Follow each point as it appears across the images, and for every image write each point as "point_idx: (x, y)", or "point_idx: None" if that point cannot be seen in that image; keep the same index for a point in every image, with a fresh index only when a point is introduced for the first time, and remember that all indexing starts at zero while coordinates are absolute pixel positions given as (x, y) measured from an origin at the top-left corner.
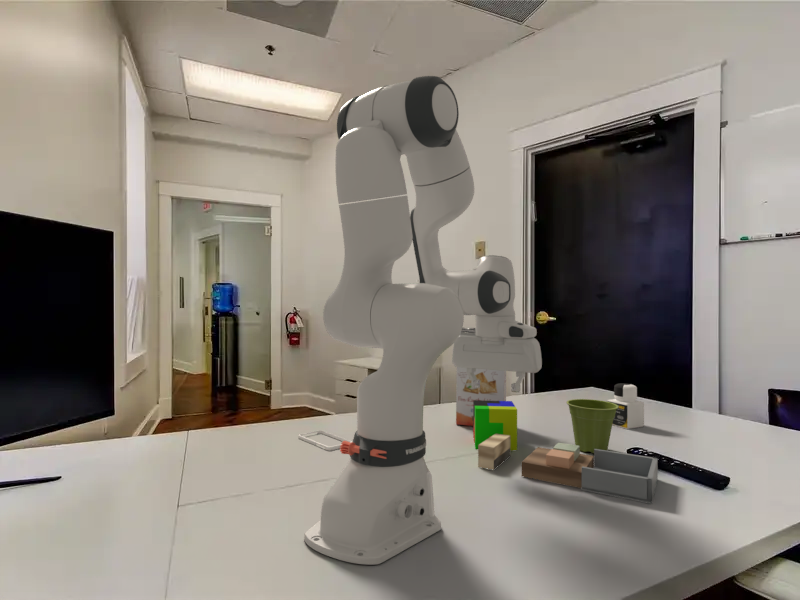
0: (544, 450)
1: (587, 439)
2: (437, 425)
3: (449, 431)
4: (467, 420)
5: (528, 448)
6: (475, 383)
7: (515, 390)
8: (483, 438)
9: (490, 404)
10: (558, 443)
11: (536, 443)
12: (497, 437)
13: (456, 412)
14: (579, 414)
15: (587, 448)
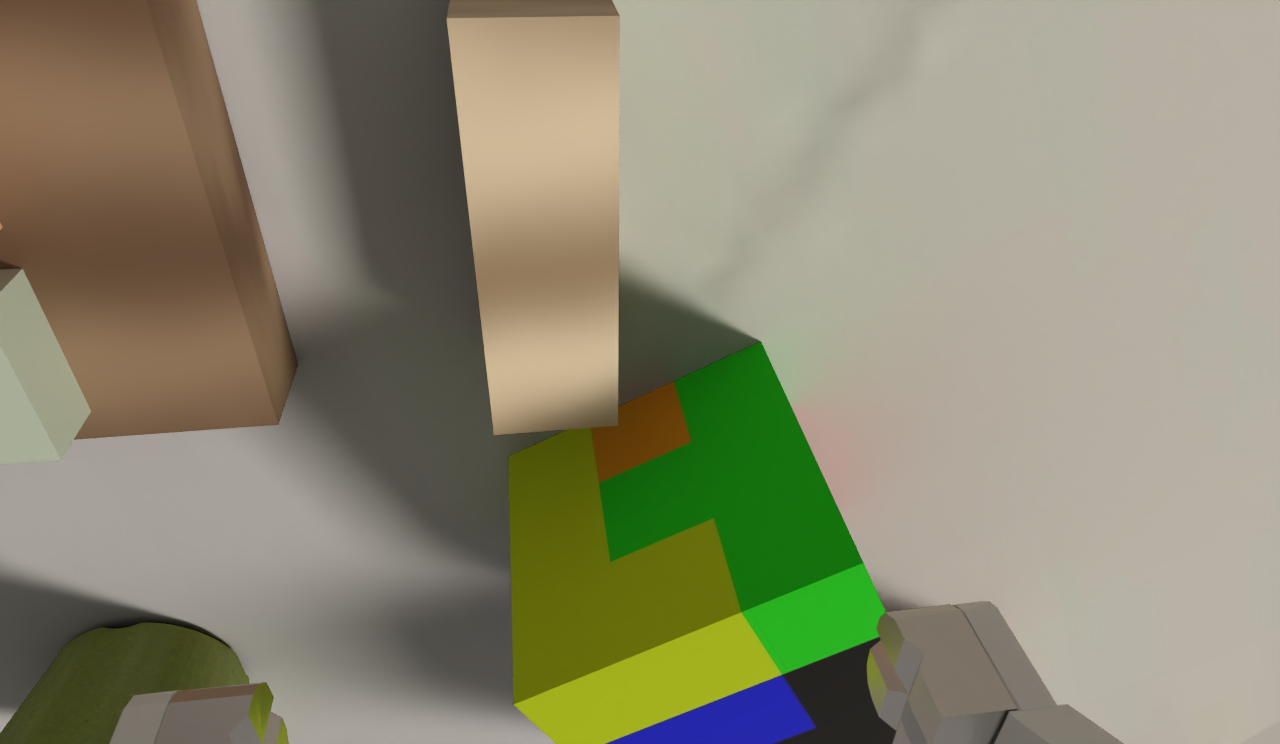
0: (189, 381)
1: (92, 688)
2: (1094, 580)
3: (1005, 533)
4: None
5: (466, 521)
6: (953, 667)
7: (167, 707)
8: (727, 413)
9: (779, 714)
10: (41, 440)
11: (467, 609)
12: (561, 337)
13: None
14: None
15: (120, 640)
